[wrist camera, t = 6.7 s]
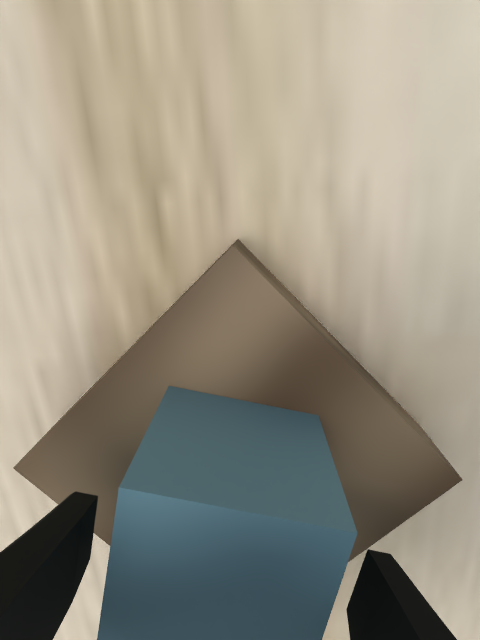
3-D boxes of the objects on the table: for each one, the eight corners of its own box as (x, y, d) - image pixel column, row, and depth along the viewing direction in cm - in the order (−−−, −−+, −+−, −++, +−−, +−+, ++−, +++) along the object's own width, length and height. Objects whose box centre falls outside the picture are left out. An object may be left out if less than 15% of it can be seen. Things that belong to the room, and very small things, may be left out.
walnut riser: (416, 420, 17) (462, 479, 13) (237, 559, 20) (233, 644, 16) (238, 238, 16) (233, 245, 12) (65, 413, 18) (12, 468, 14)
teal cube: (318, 415, 13) (357, 532, 8) (284, 538, 14) (300, 702, 9) (168, 385, 13) (119, 487, 8) (147, 511, 14) (93, 665, 9)
